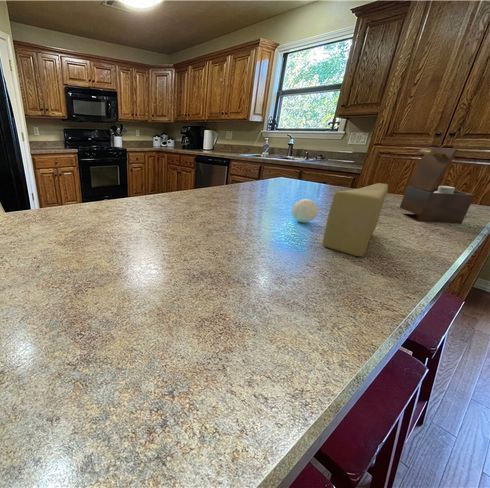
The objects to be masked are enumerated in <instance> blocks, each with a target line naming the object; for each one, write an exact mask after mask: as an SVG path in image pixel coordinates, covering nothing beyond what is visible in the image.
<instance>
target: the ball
mask: <svg viewBox="0 0 490 488" xmlns="http://www.w3.org/2000/svg"><path fill="white" fill-rule="evenodd" d="M291 214H292V218H293V219H294V220H295V221H296V222H298V223H303V224H307V223H309V222H312V221H314V220H315V219H316V218H317V216H318V214H319V207H318V205H317V203H315V201H313V199H307V198H302V199H300V200H297V201H296V203H294V204H293V206H292V209H291Z"/></svg>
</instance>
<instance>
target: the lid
mask: <svg viewBox="0 0 490 488" xmlns="http://www.w3.org/2000/svg"><path fill="white" fill-rule="evenodd" d="M458 152H459V149H457V148H446V147H433V146H427V148H421V149H418V154H420V155H423V156H422V157H421V159H420V161H419V163H418V164H417V166H416V168H415V170H413V173H412V175H411V176H410V178H409V180H408V182H407V184H406V186H413V187H416V188H420V189H423V190H427V191H430V192H432V191H433V190H434V188H435V187H437V185H438V184H439V182H440V180H441V179H442V177H443V176H444V174H445V172H446V171H447V169H448V167H449V166H450V165H451V162H452V161H453V159H454V158H455V156H456V155H457V153H458Z"/></svg>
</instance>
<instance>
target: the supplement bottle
mask: <svg viewBox="0 0 490 488" xmlns="http://www.w3.org/2000/svg"><path fill="white" fill-rule="evenodd" d="M438 187H439V188H438V190H437V191H435V192H434V193H451V194H454V193H453V192H454V190H456V187H454V186H448V185H439V186H438Z"/></svg>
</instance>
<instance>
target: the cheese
mask: <svg viewBox="0 0 490 488" xmlns="http://www.w3.org/2000/svg"><path fill="white" fill-rule="evenodd" d="M388 189H389V184H387V183H379V182H377V183H374V184H371V185H367V186H364V187H360V188H355V189H345V190H338V191H335V193H334V194H333V198H332V201H331V204H330V208H329V212H328V216H327V220H326V225H325V228H324V233H323V239H322V246H323V247H326V248H328V249H330V250H331V249H332V250H334V251H337V252H341V253H344V254H348V255H350V256H355V257H362V256H364V254H365V252H366V250H367V248H368V244H369V242H370V239H371V237H372V236H373V234H374V232H375V231H376V227H377V225H378V223H379V219H380V215H381V211H382V208H383V205H384V202H385V199H386V196H387V195H388V194H387V193H388Z"/></svg>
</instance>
